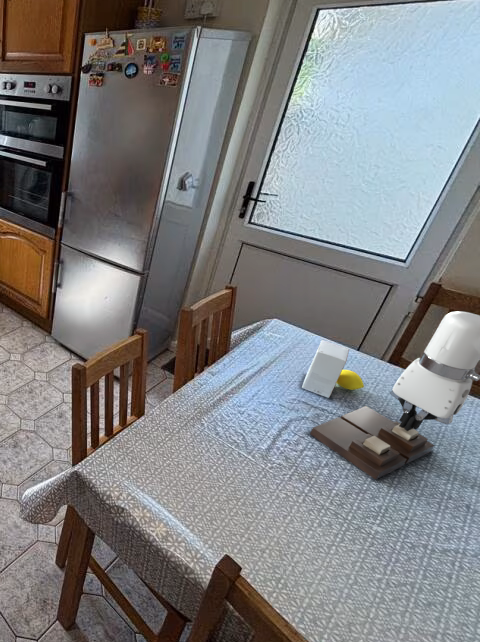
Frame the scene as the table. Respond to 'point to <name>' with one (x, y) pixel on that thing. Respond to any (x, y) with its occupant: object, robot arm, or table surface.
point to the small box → (325, 368)
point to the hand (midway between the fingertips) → (406, 427)
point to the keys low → (388, 433)
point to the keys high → (357, 448)
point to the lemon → (350, 380)
